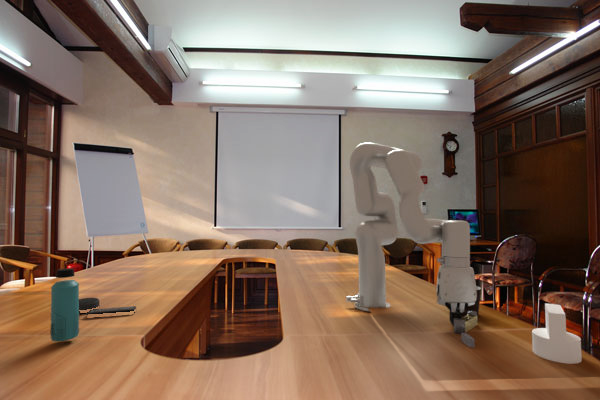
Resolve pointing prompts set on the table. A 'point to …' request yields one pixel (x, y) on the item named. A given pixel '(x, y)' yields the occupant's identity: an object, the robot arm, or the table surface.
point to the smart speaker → (88, 303)
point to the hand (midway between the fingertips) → (455, 324)
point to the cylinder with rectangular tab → (556, 338)
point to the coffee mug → (476, 305)
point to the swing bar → (465, 322)
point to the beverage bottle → (64, 307)
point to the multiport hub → (112, 310)
